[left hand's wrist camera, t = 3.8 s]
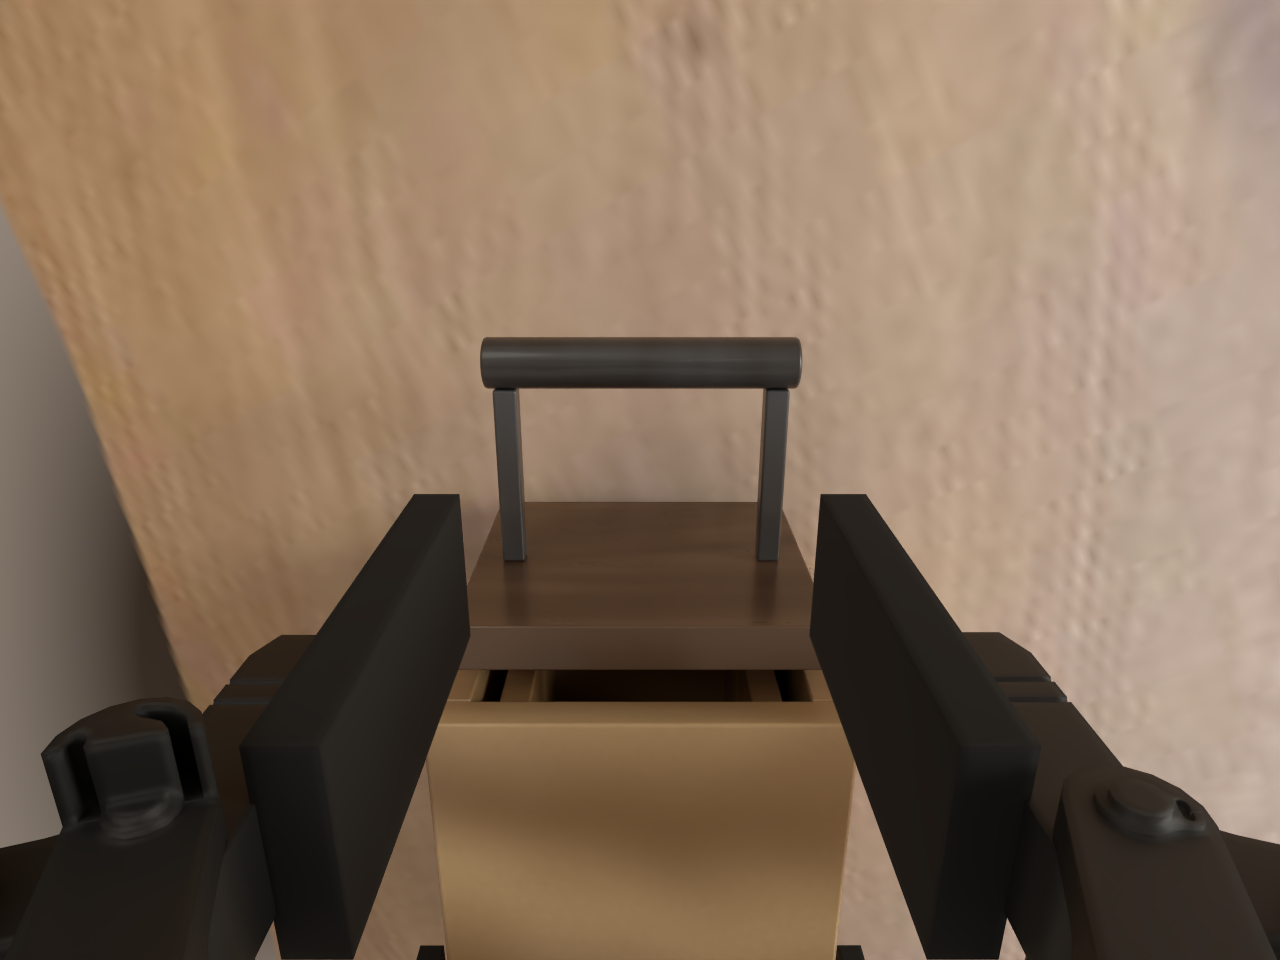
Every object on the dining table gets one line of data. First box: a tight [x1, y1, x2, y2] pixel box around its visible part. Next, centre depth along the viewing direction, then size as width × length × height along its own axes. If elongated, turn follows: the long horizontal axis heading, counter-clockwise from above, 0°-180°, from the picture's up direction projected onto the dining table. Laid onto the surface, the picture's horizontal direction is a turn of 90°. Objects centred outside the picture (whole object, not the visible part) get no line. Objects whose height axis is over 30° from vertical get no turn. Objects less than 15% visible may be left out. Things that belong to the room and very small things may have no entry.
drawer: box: [458, 337, 822, 702], centre depth 25 cm, size 22×9×8 cm, turn 0°
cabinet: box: [426, 670, 856, 960], centre depth 27 cm, size 17×10×10 cm, turn 0°
